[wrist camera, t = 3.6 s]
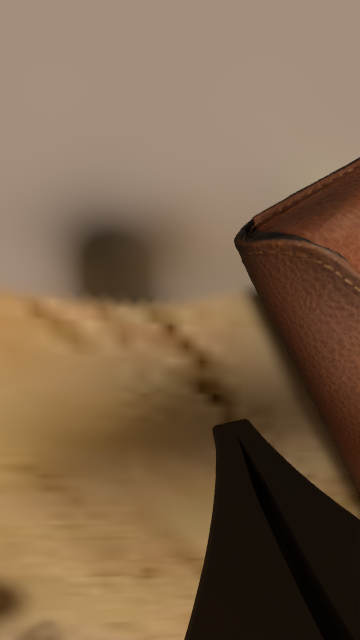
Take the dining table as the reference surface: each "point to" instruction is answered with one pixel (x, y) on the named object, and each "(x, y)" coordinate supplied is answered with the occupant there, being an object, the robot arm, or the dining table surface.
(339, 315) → the sunglasses case
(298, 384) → the dining table surface
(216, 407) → the dining table surface
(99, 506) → the dining table surface
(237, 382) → the dining table surface
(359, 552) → the robot arm
